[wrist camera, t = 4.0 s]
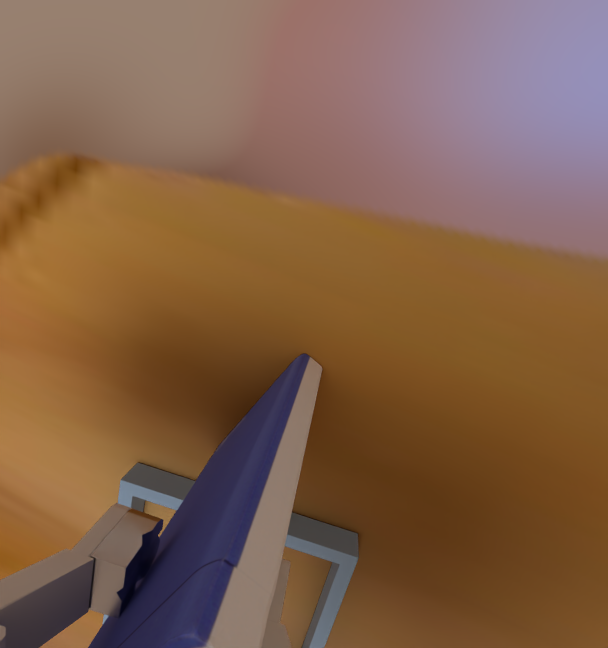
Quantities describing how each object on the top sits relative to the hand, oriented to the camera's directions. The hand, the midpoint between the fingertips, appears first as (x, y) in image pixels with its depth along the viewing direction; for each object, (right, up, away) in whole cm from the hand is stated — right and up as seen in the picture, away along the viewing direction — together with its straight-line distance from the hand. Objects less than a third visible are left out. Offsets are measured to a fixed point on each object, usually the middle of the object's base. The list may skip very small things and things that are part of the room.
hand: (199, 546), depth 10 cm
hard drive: (+1, +2, +8) cm, 8 cm away
